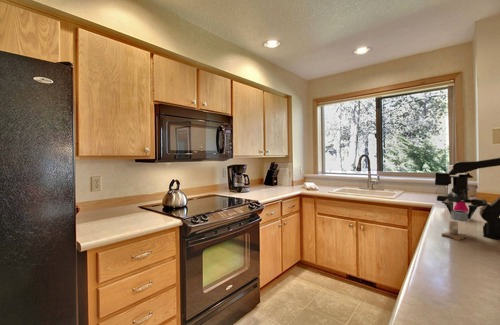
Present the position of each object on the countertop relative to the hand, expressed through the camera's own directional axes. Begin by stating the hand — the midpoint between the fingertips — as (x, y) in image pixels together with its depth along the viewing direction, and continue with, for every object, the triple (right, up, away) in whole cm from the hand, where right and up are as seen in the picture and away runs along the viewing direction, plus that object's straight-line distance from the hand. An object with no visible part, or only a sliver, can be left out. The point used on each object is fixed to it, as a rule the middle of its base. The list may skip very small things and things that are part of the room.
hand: (460, 217), depth 123 cm
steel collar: (0, -1, 0) cm, 1 cm away
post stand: (-8, -8, -6) cm, 13 cm away
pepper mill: (+28, -8, +31) cm, 43 cm away
